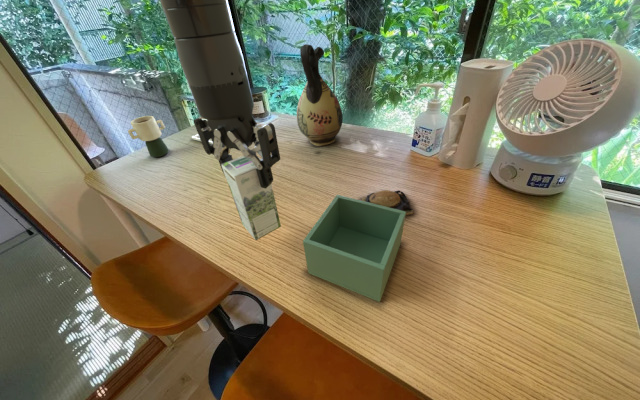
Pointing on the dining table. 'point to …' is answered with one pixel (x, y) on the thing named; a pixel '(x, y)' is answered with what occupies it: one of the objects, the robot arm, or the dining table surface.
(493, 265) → the dining table surface
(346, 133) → the dining table surface
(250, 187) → the syrup box
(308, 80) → the ceramic jug
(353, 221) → the tote
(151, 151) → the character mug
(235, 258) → the dining table surface
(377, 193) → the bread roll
